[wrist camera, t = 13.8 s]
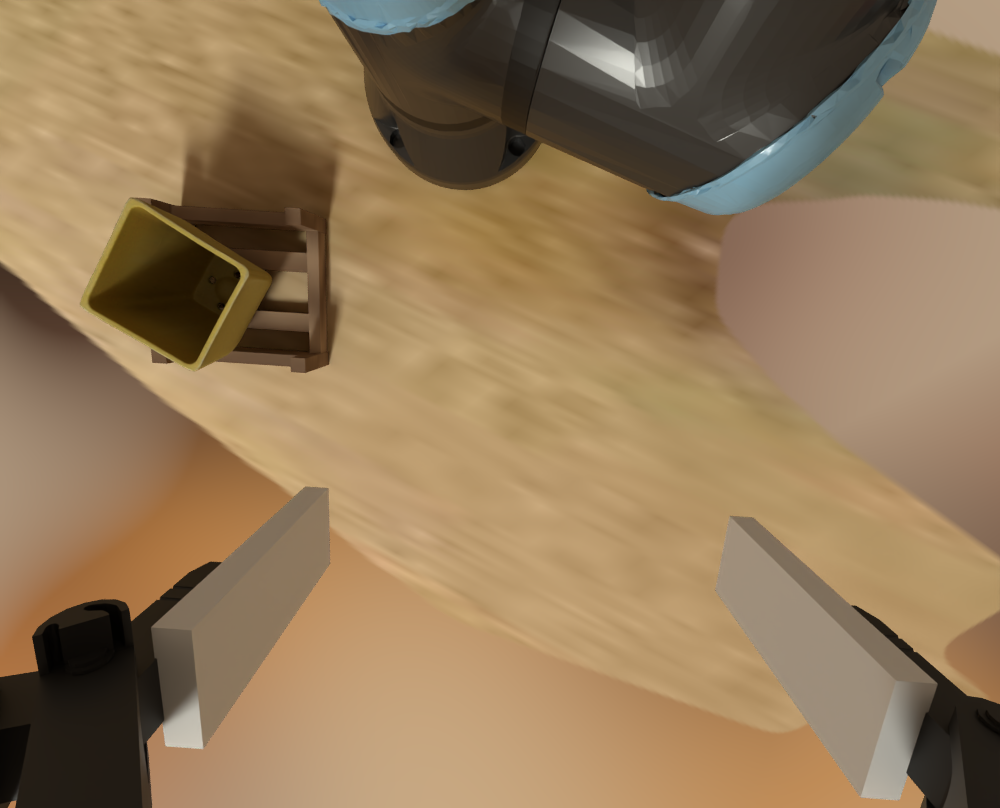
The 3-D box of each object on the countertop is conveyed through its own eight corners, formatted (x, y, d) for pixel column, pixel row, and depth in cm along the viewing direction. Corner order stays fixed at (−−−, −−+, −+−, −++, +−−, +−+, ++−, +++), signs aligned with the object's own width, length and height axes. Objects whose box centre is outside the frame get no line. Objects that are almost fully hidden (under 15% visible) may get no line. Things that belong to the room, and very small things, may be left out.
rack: (180, 210, 40) (135, 197, 35) (325, 219, 40) (300, 208, 35) (192, 355, 43) (152, 362, 38) (328, 364, 43) (305, 372, 38)
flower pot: (160, 304, 40) (74, 306, 32) (204, 216, 39) (128, 193, 30) (252, 358, 42) (195, 374, 33) (298, 276, 41) (251, 270, 32)
